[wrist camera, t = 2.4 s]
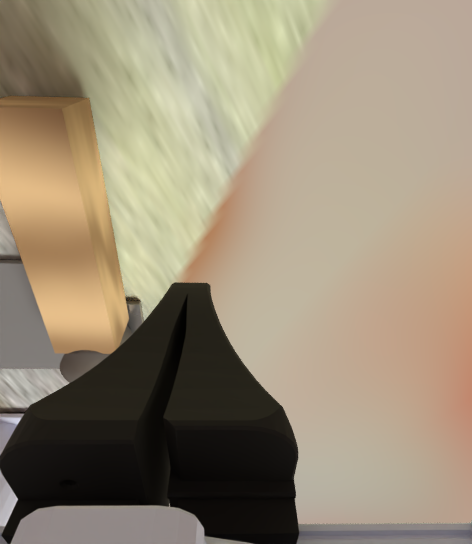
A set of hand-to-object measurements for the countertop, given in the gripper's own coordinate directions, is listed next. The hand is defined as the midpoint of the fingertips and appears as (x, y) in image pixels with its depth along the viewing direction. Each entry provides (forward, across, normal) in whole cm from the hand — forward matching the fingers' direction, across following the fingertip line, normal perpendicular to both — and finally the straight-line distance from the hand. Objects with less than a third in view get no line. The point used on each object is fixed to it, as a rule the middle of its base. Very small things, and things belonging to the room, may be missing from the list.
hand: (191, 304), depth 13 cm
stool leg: (+7, +7, +2) cm, 10 cm away
